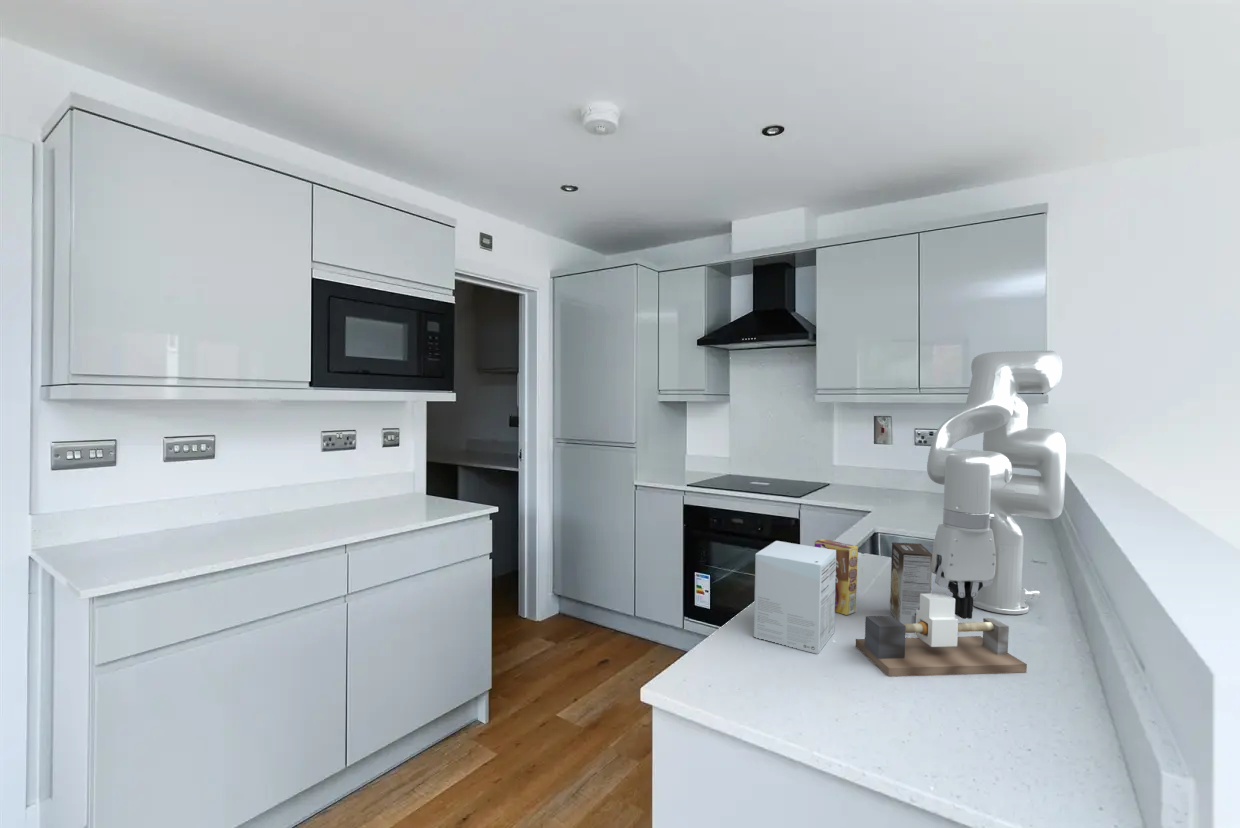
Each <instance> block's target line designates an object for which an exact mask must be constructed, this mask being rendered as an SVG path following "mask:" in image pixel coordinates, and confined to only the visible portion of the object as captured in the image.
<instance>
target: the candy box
mask: <svg viewBox="0 0 1240 828" xmlns="http://www.w3.org/2000/svg"><path fill="white" fill-rule="evenodd" d="M814 547H820V548H826V549H833V550H836V581H835V613H838V614H841V615H844V616H845V615H846V616H849V615H852V614H854V613H856V612H857V588H858V587H857V586H858V585H857V584H858V582H857V581H858V560H859V559H858V557H859V556H858V555H859V546H858V545H853V544H849V543H843V542H839V541H836V540H835V541H834V540H831V539H825V538H820V539H817V540H815V541H814Z"/></svg>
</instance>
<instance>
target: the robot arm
mask: <svg viewBox="0 0 1240 828" xmlns="http://www.w3.org/2000/svg"><path fill="white" fill-rule="evenodd" d="M1063 367H1064V366H1063V361H1062V357H1061V356H1060V354H1059V353H1058V352H1057V351H1056V350H1023V351H1020V350H1018V351H1017V350H1016V351H1015V350H1014V351H1013V350H1011V351H992V352H984V353H980V354H978V355H976V356H974V357H973V359H972V361H971V366H970V368H971V369H970V370H971V375H972V376H971V381H970V385H969V390H968V393H967V397H966V401H965V407H963V408H962V409H960V410H959V411H957V412H955V413H953V415H951V416H950V417H949V418H948V419H946V420H945V421H944V422H942V424H941V425H940V426H939V427H938V428H937V430H936V431H935V433H934V435H933V437H932V440H931V441H932V442H931V445H930V449H929V453H928V457H927V462H926V463H927V464H926V471H927V475H928V478H929V479H930V480H931V481H932V482H933V483H935V484H937V485H944V486H943V487H944V489H943V490H944V491H943V508H942V509H943V511H942V524H941V523H939V524H938V525H937V529H936V532H935V535H934V540H933V545H932V546H933V547H932V553H931V554H932V564H931V570H932V574H934V575H936V576H935V579H934V583H935V584H936V585H937V586H939V587H944V588H947V590H949V592H950V593H951V594H952V597H953V598H955V616H957V617H959V618H961V619H962V620H966V619H969V620H971V619H973V610H974V607H976V608H978V609H980V610H984V611H988V612H992V613H997V614H1003V615H1023V614H1026V613H1028V612H1029V611H1030V610H1029V609H1030V607H1029V604H1028V603H1027V602H1026V600H1027V601H1028V599H1031V600H1032V599H1033V600H1034V599H1036V600H1038V599H1040V598H1041V592H1040V591H1039V590H1037V589H1036V590H1035V589H1034V590H1033V589H1032V590H1031V589H1030V590H1027V589H1026V588H1025V587H1022V586H1023V585H1022V582H1023V562H1024V561H1023V560H1024V558H1023V557H1024V538H1025V537H1024V534H1023V533H1024V532H1023V530H1022V529H1021V527H1020V526H1019V524H1018V523H1017V521H1015V519H1014V518H1013V516H1021V517H1028V518H1029V517H1030V518H1036V519H1044V520H1045V519H1046V520H1054V519H1057V518H1059V517H1060V516H1061V515H1062V513H1063V510H1064V505H1065V493H1066V491H1065V489H1066V471H1067V470H1066V467H1067V445H1066V441H1065V438H1064V436H1063V434H1062V433H1061V432H1059V431H1058V430H1055V429H1051V428H1050V429H1048V428H1041V427H1040V428H1039V427H1037V428H1036V427H1034V428H1033V427H1029V426H1028V411H1029V408H1028V405H1027V403H1026V402H1025V400H1024V399H1023V398H1022V396H1021V395H1020V394H1019V393H1023V394H1024V393H1035V394H1040V393H1043V394H1044V393H1048V392H1049V393H1050V392H1051V391H1052V390H1054V389H1055V388H1056V387H1057V386H1058V384H1060V381H1061V379H1062V377H1063ZM980 434H983V439H982V440H983V441H982V450H976V449H966V448H965V449H963V448H953V447H952V446H954V445H955V444H956V443H957V442H959V441H961V440H963V439H965V438H968V437H973V436H975V435H980ZM1013 468H1014V469H1024V470H1025V469H1026V470H1035V471H1037V472H1039V473H1040V475H1030V474H1021V473H1013Z"/></svg>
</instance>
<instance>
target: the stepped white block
mask: <svg viewBox="0 0 1240 828" xmlns="http://www.w3.org/2000/svg"><path fill="white" fill-rule="evenodd" d="M955 616H956V615H955V598H953V596H951V595H949V594H947V593H946V592H945V593H944V592H940V593H932V592H931V594H920V610H916V624H918V622H926V623H928V634H920V633H914V634H915V636H916V638H920V639H921V640H923V641H924V642H925V643H927V644H928V645H930V646H931V647H947V646H957V639H958V637H959V636H958V634H959V632H958V623H959V619H958V618H956V617H955Z"/></svg>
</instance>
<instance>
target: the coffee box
mask: <svg viewBox="0 0 1240 828" xmlns="http://www.w3.org/2000/svg"><path fill="white" fill-rule="evenodd" d="M931 564H932V553H931V552H930V551H929V550H928V549H927V548H926V547H925V546H924V544H922V543H914V542H913V543H910V542H909V543H908V542H891V565H890V570H891V571H890V596H889V597H890V598H889V599H890V600H889V610H890V612H891V614H892V615H893V617H894V618H895V619H896V620H898V621H899V622H901V623H902V624H916V610H920V594H931V593H932V578H933V576H932V575H933V572H932V570H931Z"/></svg>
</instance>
